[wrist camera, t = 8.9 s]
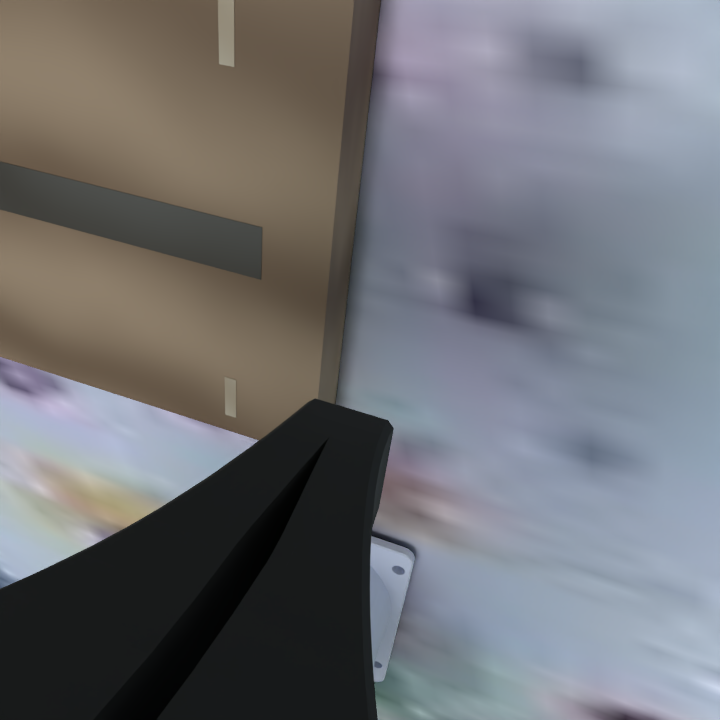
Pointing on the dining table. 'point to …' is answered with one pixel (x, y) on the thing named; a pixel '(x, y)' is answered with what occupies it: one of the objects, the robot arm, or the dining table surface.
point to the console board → (183, 197)
